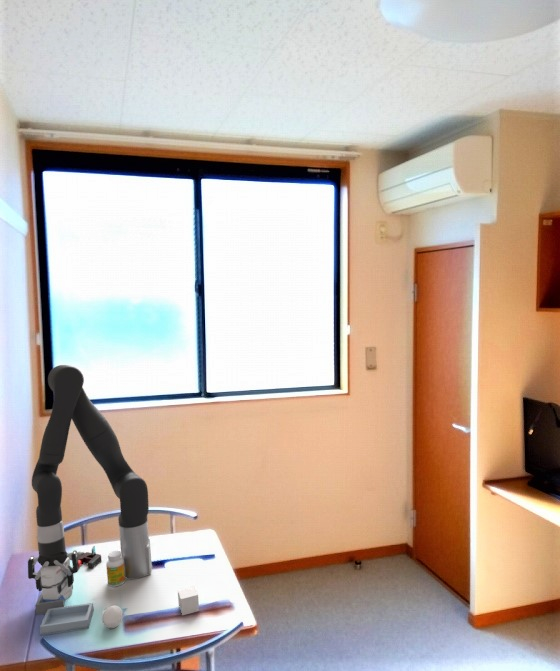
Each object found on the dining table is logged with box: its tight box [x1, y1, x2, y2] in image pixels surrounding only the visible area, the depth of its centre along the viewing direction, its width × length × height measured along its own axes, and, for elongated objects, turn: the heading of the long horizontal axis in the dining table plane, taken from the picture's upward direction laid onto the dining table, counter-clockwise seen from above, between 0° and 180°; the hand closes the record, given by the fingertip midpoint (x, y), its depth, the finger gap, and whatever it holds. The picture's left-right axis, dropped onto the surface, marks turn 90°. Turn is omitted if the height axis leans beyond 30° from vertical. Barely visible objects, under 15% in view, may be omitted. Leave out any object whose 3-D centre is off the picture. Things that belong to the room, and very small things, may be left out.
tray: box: [39, 602, 95, 636], centre depth 152 cm, size 9×13×2 cm
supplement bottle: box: [105, 550, 126, 587], centre depth 172 cm, size 5×5×10 cm
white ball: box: [101, 605, 124, 629], centre depth 150 cm, size 8×6×6 cm
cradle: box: [34, 583, 74, 615], centre depth 164 cm, size 8×13×3 cm, turn 10°
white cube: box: [177, 586, 200, 616], centre depth 156 cm, size 5×5×5 cm
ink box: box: [41, 557, 73, 602], centre depth 164 cm, size 8×5×12 cm, turn 170°
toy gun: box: [77, 545, 102, 570], centre depth 186 cm, size 10×12×5 cm
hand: (55, 587), depth 164 cm, fingers open, 8 cm apart
